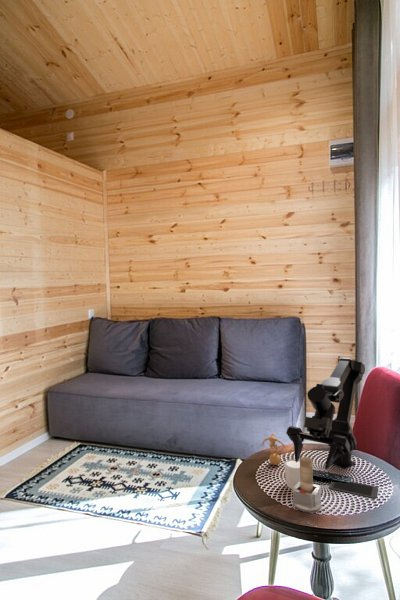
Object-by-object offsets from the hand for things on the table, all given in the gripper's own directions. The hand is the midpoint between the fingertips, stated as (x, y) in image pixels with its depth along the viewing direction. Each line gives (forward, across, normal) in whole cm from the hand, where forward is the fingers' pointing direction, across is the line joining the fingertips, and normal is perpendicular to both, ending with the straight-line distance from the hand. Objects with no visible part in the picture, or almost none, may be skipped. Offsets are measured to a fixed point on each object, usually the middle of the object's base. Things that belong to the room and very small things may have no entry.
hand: (310, 465), depth 122 cm
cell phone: (-2, +8, +18) cm, 20 cm away
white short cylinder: (+3, -8, +12) cm, 14 cm away
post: (+9, 0, +4) cm, 10 cm away
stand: (+10, 0, +5) cm, 11 cm away
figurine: (-3, -19, +18) cm, 27 cm away
